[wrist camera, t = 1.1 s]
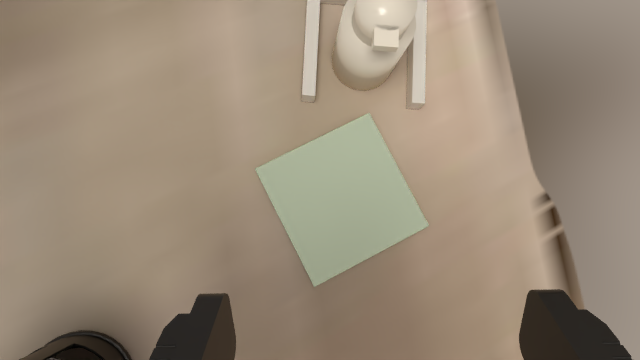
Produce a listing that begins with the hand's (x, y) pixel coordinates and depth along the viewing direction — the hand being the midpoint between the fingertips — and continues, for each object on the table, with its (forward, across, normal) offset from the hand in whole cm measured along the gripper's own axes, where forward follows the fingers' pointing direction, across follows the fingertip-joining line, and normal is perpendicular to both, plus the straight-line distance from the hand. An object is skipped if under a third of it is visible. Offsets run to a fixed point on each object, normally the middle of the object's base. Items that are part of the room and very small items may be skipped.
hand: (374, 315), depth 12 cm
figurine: (+34, -2, -1) cm, 34 cm away
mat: (+27, +1, +10) cm, 29 cm away
